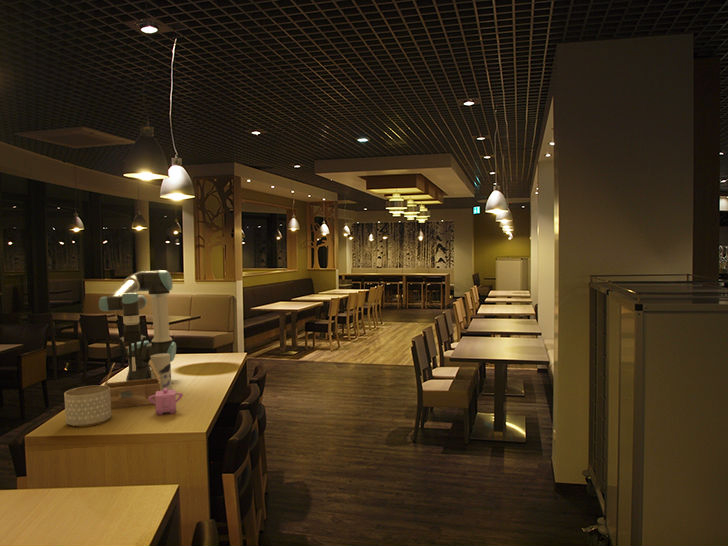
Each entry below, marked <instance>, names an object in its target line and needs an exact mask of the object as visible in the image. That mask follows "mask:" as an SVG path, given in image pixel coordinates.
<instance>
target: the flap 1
mask: <svg viewBox="0 0 728 546" xmlns="http://www.w3.org/2000/svg"><path fill="white" fill-rule="evenodd" d="M115 364H116V362H113V364H112V366H111V367H110V371H109V373H108V375H107V378H105V383H104V384H103V386H105V385H106V383H109V382H108V381H109V379H110V376H111V374H112V372H113V370H114V366H115Z"/></svg>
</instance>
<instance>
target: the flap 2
mask: <svg viewBox="0 0 728 546" xmlns="http://www.w3.org/2000/svg"><path fill="white" fill-rule="evenodd" d="M149 366H150V368H151V369H152V371H153V373H154V375H155V377H156V378H157V380H158V381H159V379H160V375H159V374H158V372H157V370H156V368H155V366H154V365H153V363H152V361H151V359H150V361H149Z"/></svg>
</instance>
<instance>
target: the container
mask: <svg viewBox="0 0 728 546" xmlns="http://www.w3.org/2000/svg"><path fill="white" fill-rule="evenodd" d="M150 357H151V361H152V363H153V365H154V366H155V368H156V370H157V372H158V374H159V375H160V378H161V391H163V390H164V389H165V388H167V389H168V390H173V385H172V368H171V365H172V364H171V363H172V362H170V354H166V353H163V354H155V355H151V356H150ZM151 376H152V379H154V378H156V377H155V375H154V373H153V371H152V369H151Z"/></svg>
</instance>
